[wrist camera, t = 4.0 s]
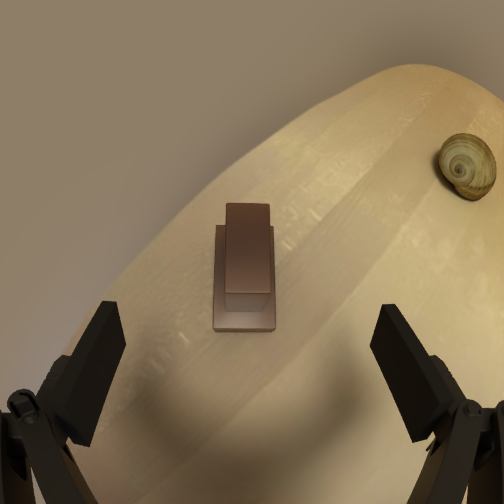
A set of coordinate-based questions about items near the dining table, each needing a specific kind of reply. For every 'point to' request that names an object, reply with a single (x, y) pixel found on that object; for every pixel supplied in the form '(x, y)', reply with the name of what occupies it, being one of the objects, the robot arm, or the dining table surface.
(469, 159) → the seashell
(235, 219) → the duster
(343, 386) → the dining table surface
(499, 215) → the dining table surface
